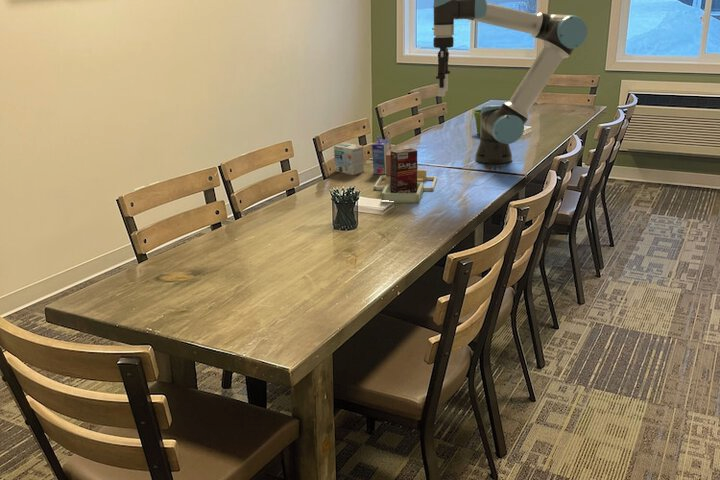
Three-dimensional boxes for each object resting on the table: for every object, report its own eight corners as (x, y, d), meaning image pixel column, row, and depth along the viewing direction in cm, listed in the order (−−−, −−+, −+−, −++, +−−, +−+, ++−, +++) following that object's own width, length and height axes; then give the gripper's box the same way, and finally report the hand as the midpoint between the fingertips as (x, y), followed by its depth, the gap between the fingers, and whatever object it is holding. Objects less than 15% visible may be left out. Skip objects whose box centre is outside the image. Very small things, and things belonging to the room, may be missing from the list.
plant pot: (500, 132, 342) (500, 109, 338) (491, 136, 333) (491, 113, 329) (478, 130, 348) (478, 108, 344) (468, 134, 339) (469, 112, 335)
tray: (423, 191, 248) (423, 182, 247) (418, 203, 234) (418, 194, 233) (388, 190, 251) (387, 181, 249) (381, 202, 237) (381, 193, 236)
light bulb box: (334, 171, 280) (333, 145, 276) (345, 168, 284) (344, 142, 281) (353, 175, 273) (352, 148, 269) (364, 171, 277) (363, 145, 274)
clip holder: (437, 179, 263) (437, 169, 261) (433, 191, 248) (433, 180, 246) (380, 178, 267) (380, 168, 265) (373, 189, 252) (373, 179, 251)
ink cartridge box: (379, 168, 282) (378, 133, 277) (392, 168, 281) (392, 133, 276) (372, 174, 274) (371, 138, 269) (385, 174, 272) (384, 138, 267)
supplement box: (397, 198, 238) (396, 153, 233) (390, 194, 242) (389, 150, 237) (418, 194, 242) (418, 150, 236) (411, 191, 246) (410, 147, 241)
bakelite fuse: (399, 182, 261) (398, 151, 256) (396, 186, 255) (396, 155, 251) (388, 182, 261) (388, 151, 257) (386, 186, 256) (385, 155, 252)
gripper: (436, 34, 269) (436, 89, 276) (430, 39, 246) (430, 98, 253) (455, 34, 267) (454, 88, 274) (451, 38, 244) (450, 98, 251)
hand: (443, 93), depth 264 cm, fingers open, 13 cm apart
